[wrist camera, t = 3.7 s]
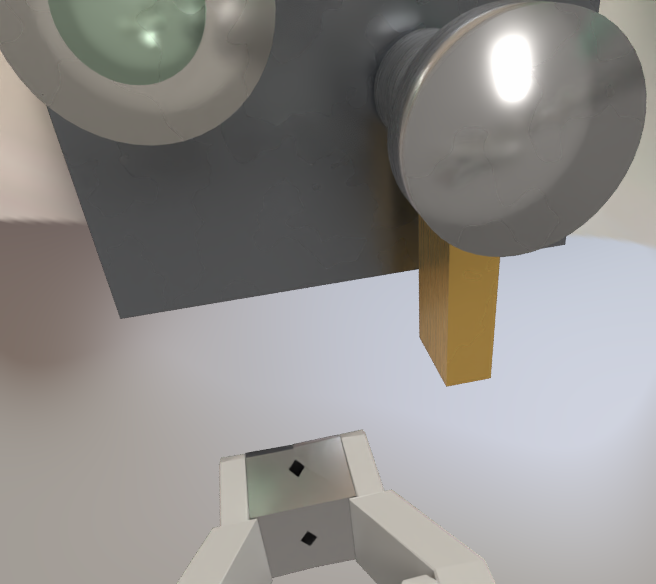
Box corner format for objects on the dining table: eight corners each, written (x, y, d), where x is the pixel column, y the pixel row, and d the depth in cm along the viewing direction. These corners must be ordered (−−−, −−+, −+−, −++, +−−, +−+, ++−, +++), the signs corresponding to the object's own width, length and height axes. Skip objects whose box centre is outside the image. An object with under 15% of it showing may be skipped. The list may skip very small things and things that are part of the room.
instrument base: (588, -185, 17) (821, -283, 11) (540, 225, 24) (661, 320, 18) (-12, -133, 15) (-188, -211, 9) (128, 292, 23) (89, 426, 16)
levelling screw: (336, 2, 17) (403, 20, 11) (514, -19, 17) (671, -13, 11) (361, 325, 23) (411, 451, 17) (491, 302, 23) (585, 416, 17)
